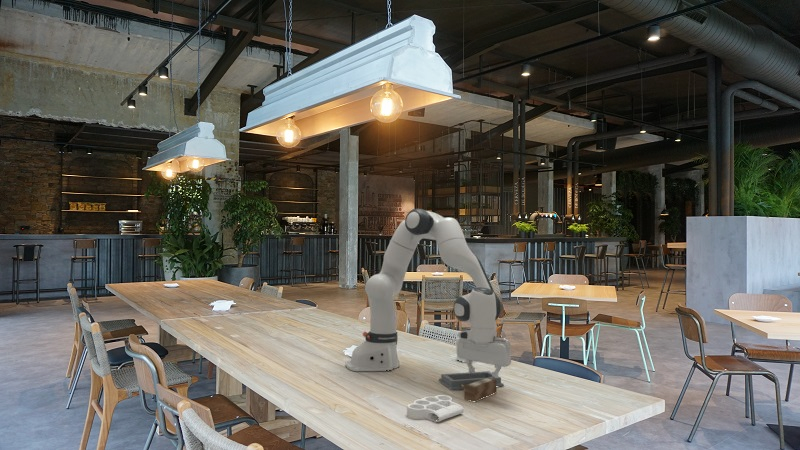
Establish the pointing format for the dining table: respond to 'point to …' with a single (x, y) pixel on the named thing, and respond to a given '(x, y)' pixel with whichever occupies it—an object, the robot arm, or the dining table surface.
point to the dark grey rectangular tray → (465, 379)
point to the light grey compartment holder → (434, 408)
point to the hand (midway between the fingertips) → (483, 375)
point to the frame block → (480, 389)
